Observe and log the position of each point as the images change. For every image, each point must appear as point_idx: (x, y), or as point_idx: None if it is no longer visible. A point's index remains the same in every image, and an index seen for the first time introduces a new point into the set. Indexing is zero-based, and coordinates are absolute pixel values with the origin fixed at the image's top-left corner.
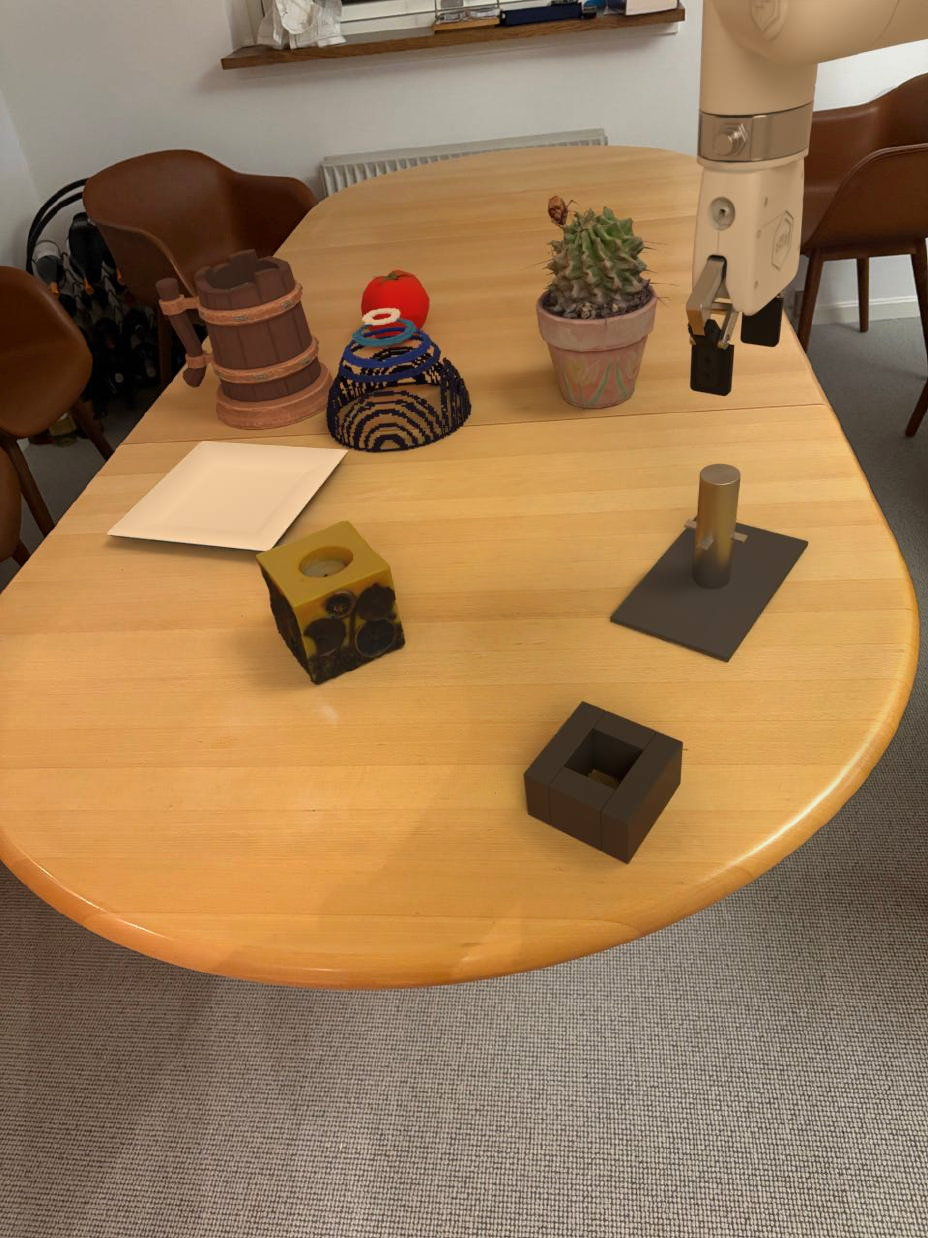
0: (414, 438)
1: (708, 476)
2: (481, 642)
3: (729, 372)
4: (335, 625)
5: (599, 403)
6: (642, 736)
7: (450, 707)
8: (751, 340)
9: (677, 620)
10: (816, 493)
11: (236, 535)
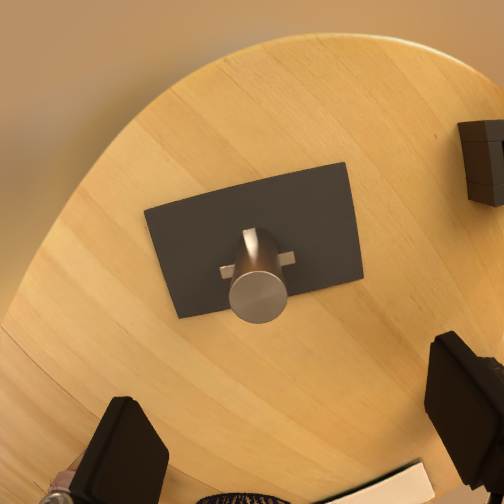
0: (266, 501)
1: (275, 305)
2: (430, 327)
3: (483, 364)
4: (501, 379)
5: None
6: (495, 148)
7: (482, 291)
8: (158, 443)
9: (332, 229)
10: (77, 255)
11: (410, 478)
